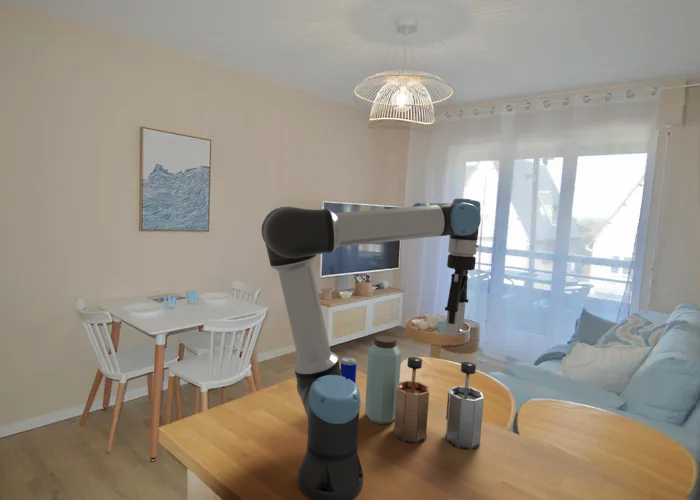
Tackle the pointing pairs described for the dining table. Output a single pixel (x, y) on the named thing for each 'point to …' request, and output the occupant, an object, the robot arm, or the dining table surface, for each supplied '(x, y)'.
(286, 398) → the dining table surface
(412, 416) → the copper press
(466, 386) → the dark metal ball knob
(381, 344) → the water bottle
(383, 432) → the dining table surface
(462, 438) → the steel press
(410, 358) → the copper press plunger
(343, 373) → the beverage can
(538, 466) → the dining table surface
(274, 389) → the dining table surface
